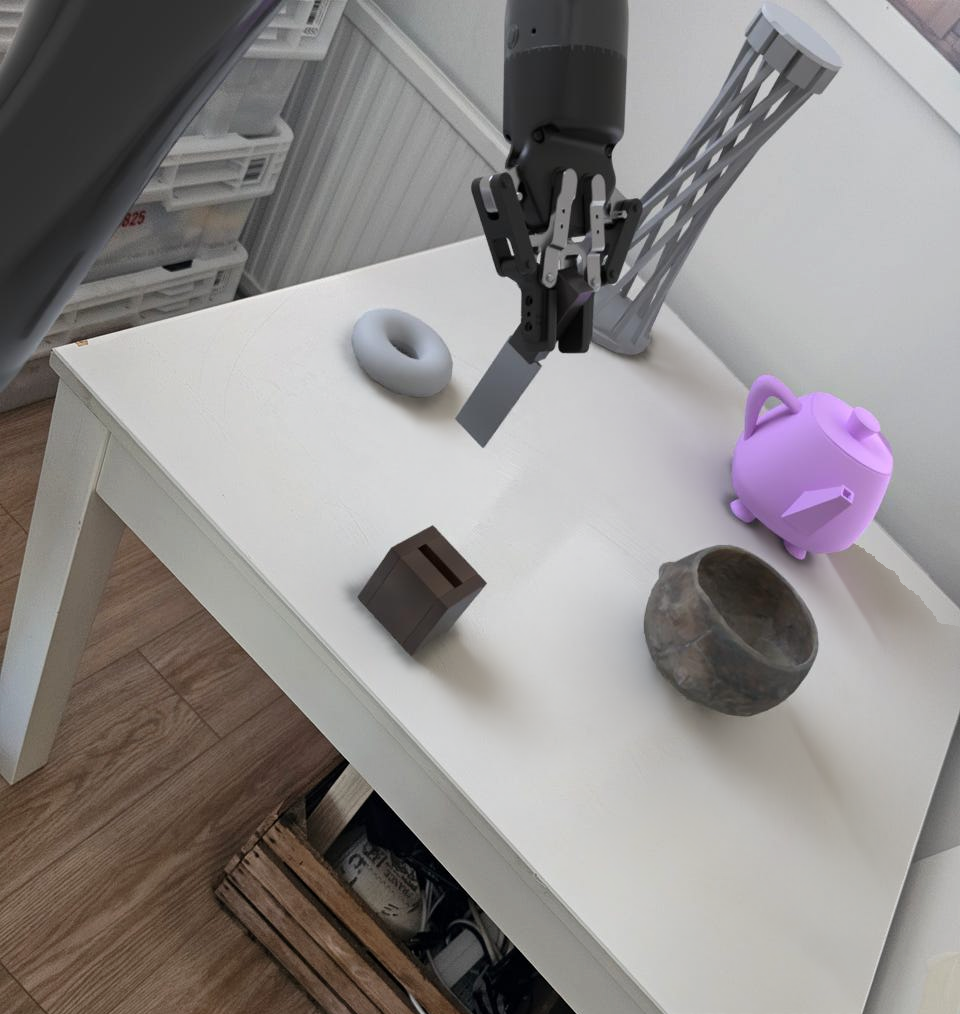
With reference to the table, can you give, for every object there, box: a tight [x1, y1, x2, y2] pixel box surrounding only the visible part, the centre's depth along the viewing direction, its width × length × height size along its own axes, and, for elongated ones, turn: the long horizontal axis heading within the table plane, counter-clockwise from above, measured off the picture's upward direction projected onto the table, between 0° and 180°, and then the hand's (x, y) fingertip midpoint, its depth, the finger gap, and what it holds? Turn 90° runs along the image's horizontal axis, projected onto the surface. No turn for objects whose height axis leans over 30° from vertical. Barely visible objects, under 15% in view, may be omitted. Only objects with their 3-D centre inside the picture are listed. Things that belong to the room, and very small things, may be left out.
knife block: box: [357, 524, 488, 656], centre depth 77 cm, size 6×5×6 cm
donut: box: [350, 307, 454, 398], centre depth 95 cm, size 10×4×10 cm
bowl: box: [643, 544, 819, 718], centre depth 89 cm, size 14×15×10 cm
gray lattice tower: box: [577, 0, 844, 356], centre depth 112 cm, size 14×13×35 cm
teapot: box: [730, 374, 894, 560], centre depth 109 cm, size 20×20×15 cm
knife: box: [454, 266, 594, 449], centre depth 70 cm, size 3×2×14 cm, turn 50°
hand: (557, 351), depth 67 cm, fingers closed on knife, 2 cm apart
